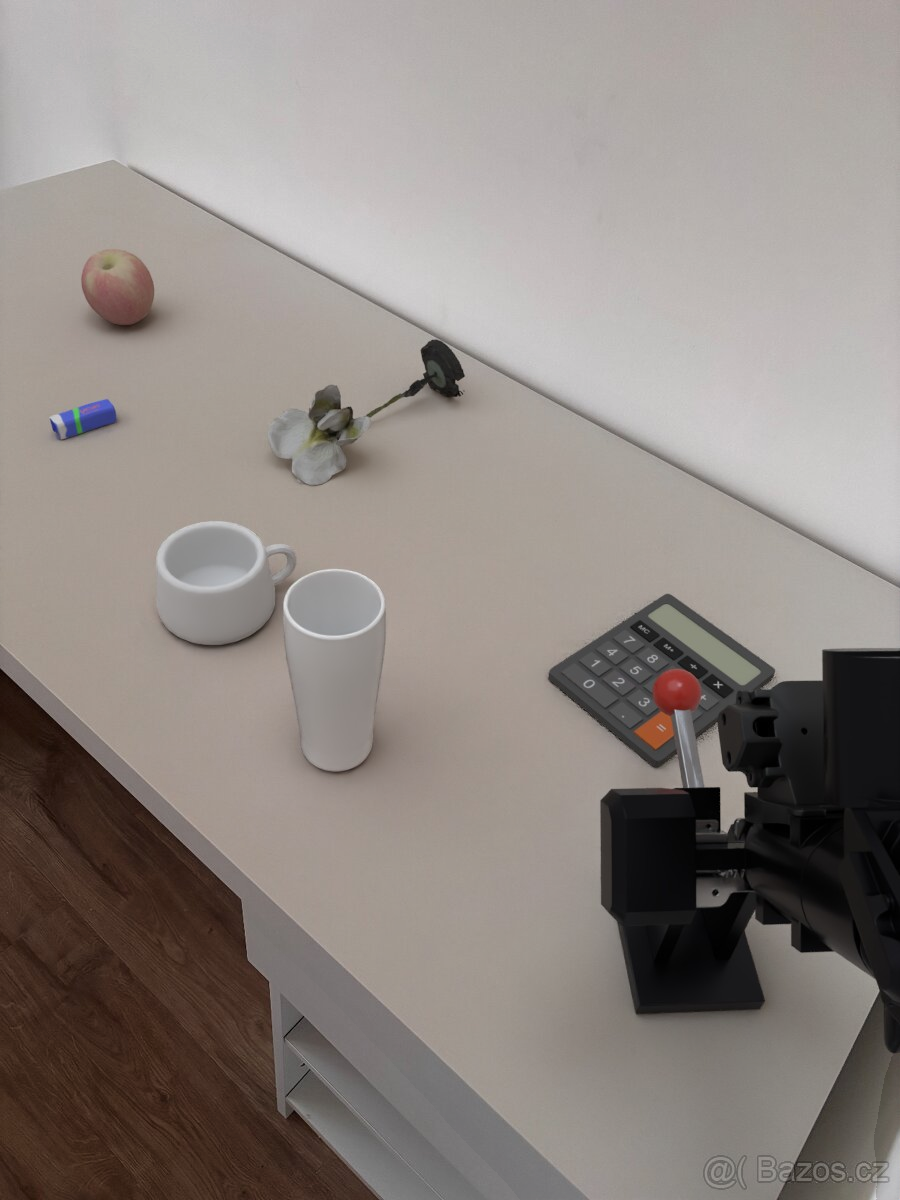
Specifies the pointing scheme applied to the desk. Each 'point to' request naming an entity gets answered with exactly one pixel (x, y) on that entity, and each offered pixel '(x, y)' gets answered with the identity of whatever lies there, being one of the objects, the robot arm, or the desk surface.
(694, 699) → the lever
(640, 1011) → the switch bracket
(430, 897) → the desk surface
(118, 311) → the apple
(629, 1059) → the desk surface
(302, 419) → the artificial flower
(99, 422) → the eraser
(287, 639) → the drinking glass
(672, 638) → the calculator
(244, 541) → the mug
